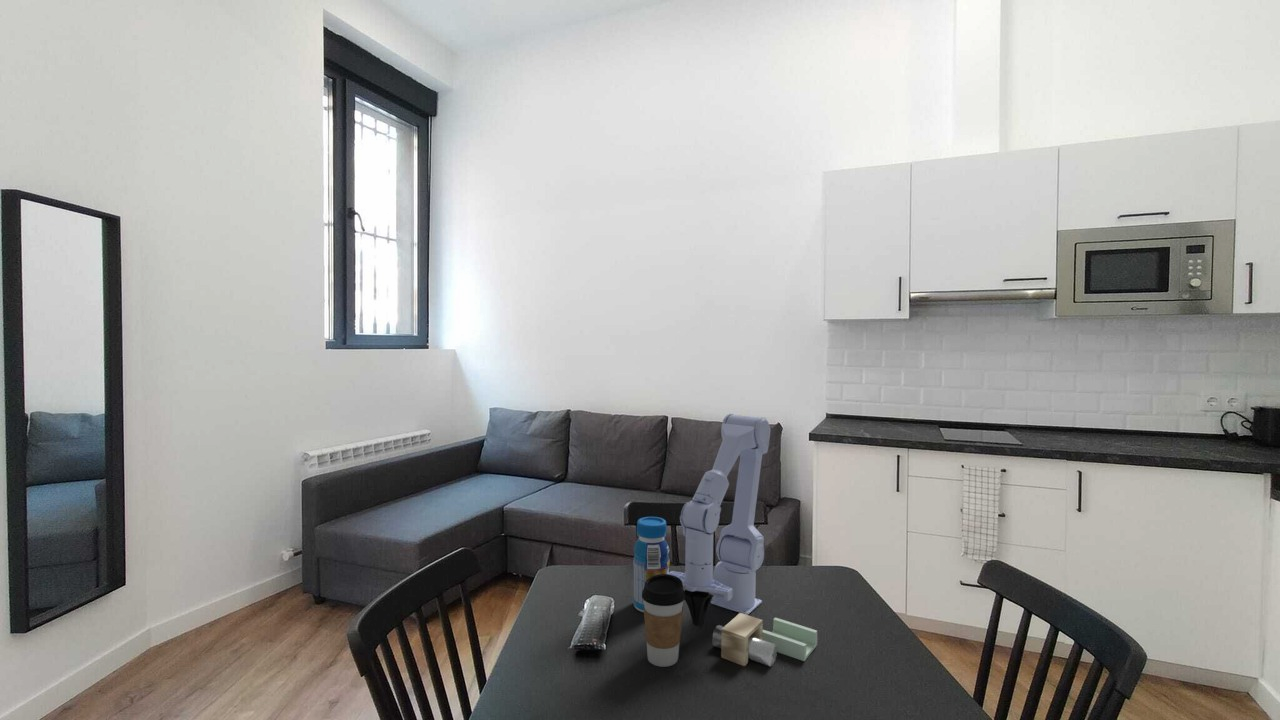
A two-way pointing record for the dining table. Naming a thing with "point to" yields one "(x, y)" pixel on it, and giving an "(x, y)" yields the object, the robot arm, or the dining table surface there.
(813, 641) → the cradle
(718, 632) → the axle
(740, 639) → the wooden bridge block
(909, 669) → the dining table surface
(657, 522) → the beverage bottle
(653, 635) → the coffee cup
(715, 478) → the robot arm
